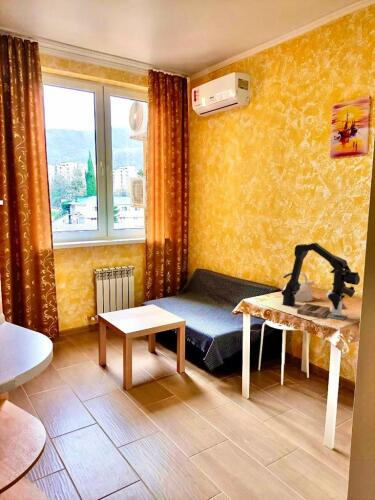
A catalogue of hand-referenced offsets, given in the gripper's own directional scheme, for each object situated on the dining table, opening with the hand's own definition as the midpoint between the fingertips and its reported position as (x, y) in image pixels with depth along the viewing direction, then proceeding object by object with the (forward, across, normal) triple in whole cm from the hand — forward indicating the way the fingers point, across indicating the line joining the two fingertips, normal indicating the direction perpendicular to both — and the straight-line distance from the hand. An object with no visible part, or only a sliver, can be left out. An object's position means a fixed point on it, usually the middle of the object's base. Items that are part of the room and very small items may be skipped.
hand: (337, 308), depth 203 cm
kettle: (+5, +27, +32) cm, 43 cm away
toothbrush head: (+6, +30, +9) cm, 32 cm away
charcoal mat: (+5, 0, 0) cm, 5 cm away
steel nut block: (+3, 0, 0) cm, 3 cm away
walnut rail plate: (+5, 0, +13) cm, 14 cm away
